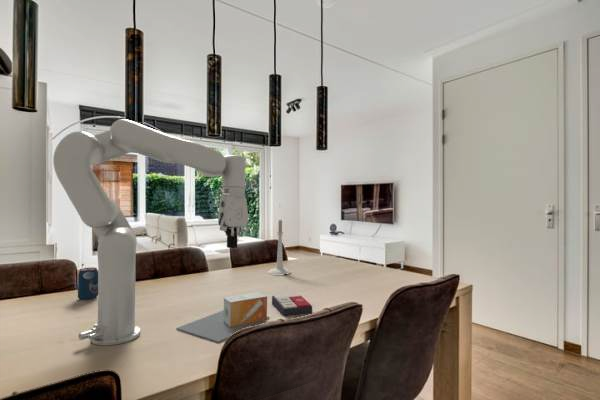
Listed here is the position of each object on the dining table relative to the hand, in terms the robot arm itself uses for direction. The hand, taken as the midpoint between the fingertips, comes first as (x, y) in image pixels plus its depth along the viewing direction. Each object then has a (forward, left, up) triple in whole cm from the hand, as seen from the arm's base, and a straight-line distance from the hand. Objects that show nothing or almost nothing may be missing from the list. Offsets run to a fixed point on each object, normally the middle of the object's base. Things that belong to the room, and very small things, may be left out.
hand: (232, 247), depth 112 cm
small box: (-4, -2, -20) cm, 21 cm away
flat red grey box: (+22, -10, -25) cm, 35 cm away
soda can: (-13, +65, -25) cm, 71 cm away
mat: (-3, 0, -25) cm, 25 cm away
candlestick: (+70, +29, -25) cm, 80 cm away
